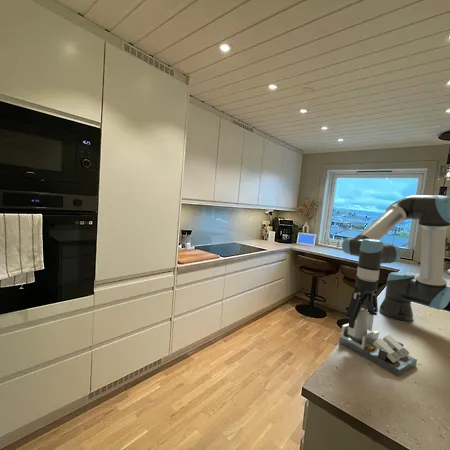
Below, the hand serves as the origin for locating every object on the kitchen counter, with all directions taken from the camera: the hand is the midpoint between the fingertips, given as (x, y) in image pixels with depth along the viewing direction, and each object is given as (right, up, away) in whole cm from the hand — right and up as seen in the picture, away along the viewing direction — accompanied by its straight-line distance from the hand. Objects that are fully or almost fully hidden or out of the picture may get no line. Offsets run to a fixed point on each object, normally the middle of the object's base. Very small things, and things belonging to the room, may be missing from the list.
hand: (359, 332), depth 101 cm
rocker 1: (+4, -2, -10) cm, 11 cm away
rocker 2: (+10, -2, -7) cm, 12 cm away
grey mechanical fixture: (+4, -7, -4) cm, 9 cm away
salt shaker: (0, -4, 0) cm, 4 cm away
